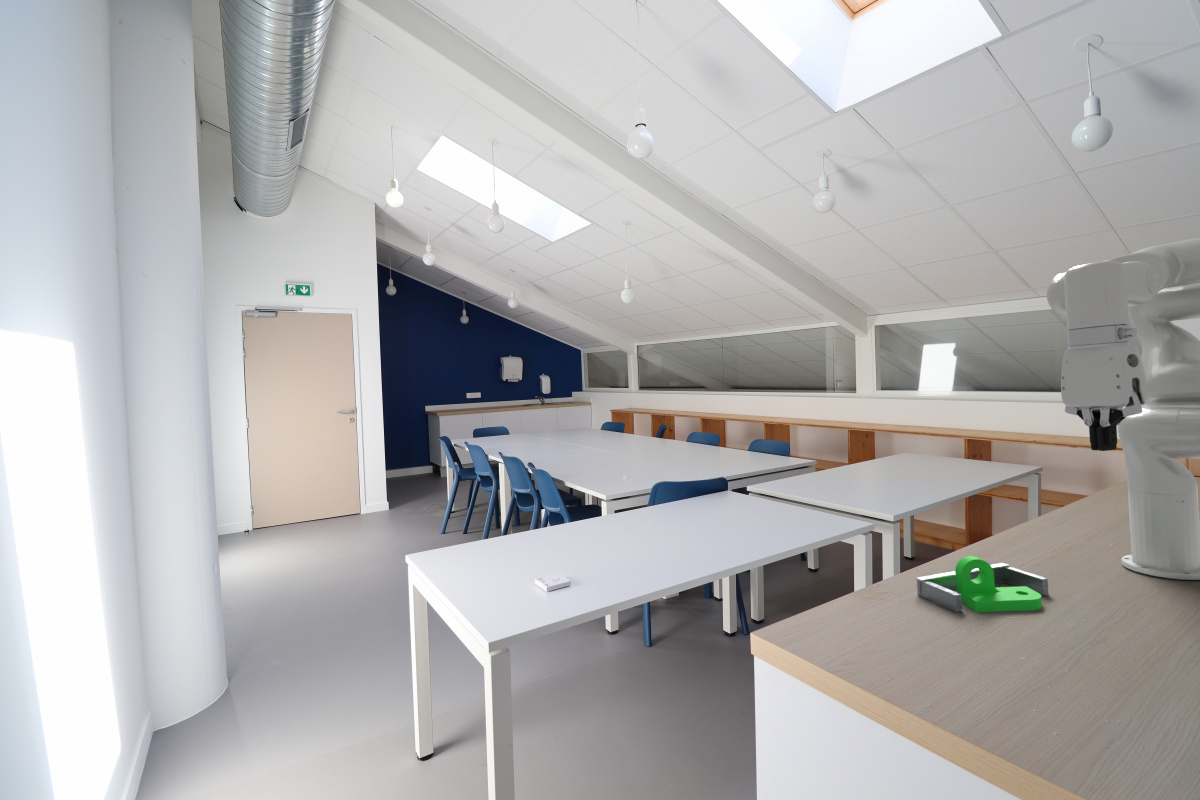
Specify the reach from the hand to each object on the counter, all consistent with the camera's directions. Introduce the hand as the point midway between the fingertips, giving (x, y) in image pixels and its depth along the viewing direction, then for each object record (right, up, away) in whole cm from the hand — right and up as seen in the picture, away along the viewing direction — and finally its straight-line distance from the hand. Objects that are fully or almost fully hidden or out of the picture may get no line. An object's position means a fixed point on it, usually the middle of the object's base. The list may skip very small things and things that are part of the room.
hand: (1103, 449), depth 90 cm
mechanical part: (-12, -28, +7) cm, 31 cm away
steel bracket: (-13, -28, +11) cm, 33 cm away
